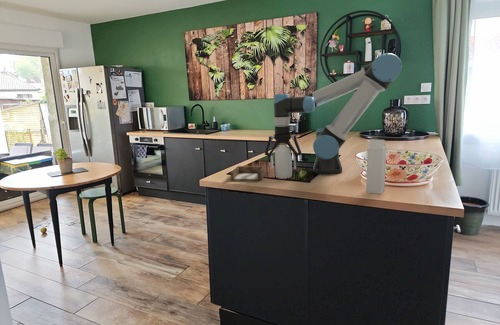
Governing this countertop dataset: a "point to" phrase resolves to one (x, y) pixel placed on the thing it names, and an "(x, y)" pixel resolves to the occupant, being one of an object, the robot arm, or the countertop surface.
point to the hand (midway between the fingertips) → (283, 168)
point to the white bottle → (283, 161)
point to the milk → (376, 166)
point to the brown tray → (248, 173)
